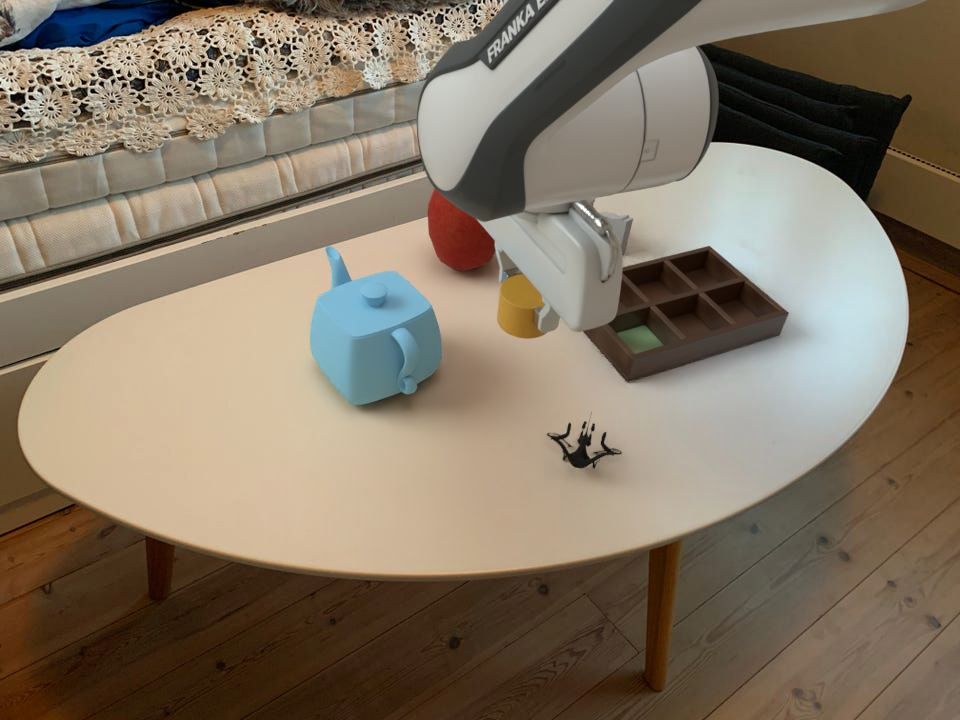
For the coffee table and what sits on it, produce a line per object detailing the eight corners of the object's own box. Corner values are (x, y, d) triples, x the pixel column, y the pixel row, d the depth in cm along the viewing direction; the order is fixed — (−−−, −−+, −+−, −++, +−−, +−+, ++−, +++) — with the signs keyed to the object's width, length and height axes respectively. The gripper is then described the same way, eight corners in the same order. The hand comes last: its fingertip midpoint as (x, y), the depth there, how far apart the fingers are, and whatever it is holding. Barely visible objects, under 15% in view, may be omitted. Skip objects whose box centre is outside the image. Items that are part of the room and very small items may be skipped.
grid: (780, 335, 96) (789, 313, 94) (627, 382, 88) (633, 359, 86) (702, 267, 106) (709, 245, 104) (559, 304, 98) (563, 281, 96)
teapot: (377, 303, 96) (375, 224, 88) (461, 390, 85) (466, 308, 78) (285, 338, 90) (273, 256, 82) (362, 435, 80) (357, 351, 72)
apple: (464, 296, 98) (470, 200, 89) (409, 262, 103) (409, 167, 93) (517, 264, 104) (528, 170, 95) (463, 233, 109) (468, 141, 99)
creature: (550, 428, 84) (534, 470, 77) (559, 385, 81) (543, 425, 74) (622, 447, 82) (613, 491, 75) (633, 404, 79) (625, 447, 73)
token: (562, 330, 69) (567, 300, 67) (513, 344, 68) (516, 314, 65) (535, 298, 73) (539, 268, 70) (487, 310, 71) (490, 280, 69)
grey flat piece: (618, 256, 107) (565, 224, 112) (625, 253, 108) (572, 221, 113) (626, 221, 103) (571, 189, 108) (633, 217, 104) (578, 186, 109)
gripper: (658, 226, 54) (621, 370, 63) (519, 104, 67) (505, 238, 77) (581, 244, 52) (555, 391, 61) (453, 114, 65) (447, 251, 74)
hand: (526, 305), depth 69 cm, fingers closed on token, 5 cm apart
